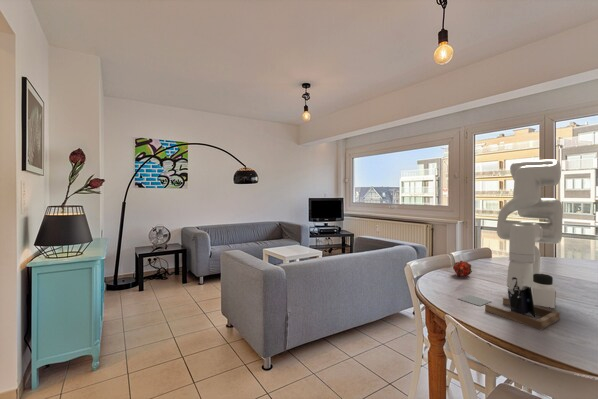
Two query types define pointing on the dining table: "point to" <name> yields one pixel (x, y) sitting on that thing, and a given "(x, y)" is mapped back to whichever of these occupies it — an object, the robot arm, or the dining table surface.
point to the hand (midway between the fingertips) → (520, 305)
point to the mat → (474, 300)
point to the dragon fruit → (462, 268)
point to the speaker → (524, 302)
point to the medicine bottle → (543, 290)
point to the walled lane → (537, 323)
